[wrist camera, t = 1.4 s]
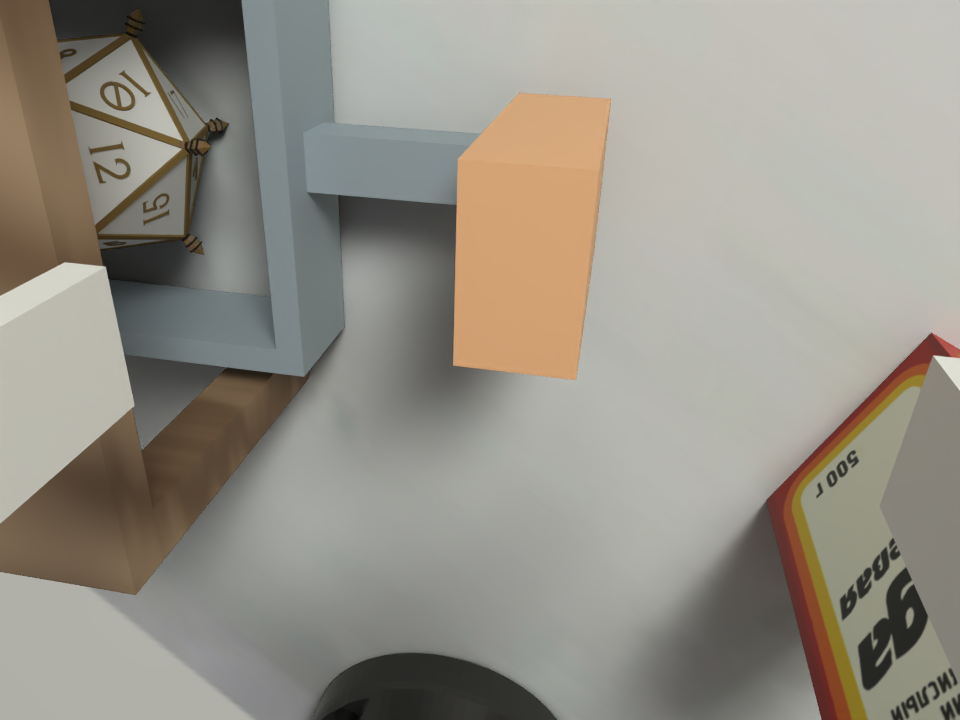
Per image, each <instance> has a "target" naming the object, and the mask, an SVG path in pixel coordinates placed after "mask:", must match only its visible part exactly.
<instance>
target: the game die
mask: <svg viewBox="0 0 960 720" xmlns="http://www.w3.org/2000/svg"><path fill="white" fill-rule="evenodd" d="M127 18H128V20H127V22H126V23H125V25H126V33H121V34H111V35H101V36H91V37H82V38H72V39H62V40H57V43H58V48H59V53H60V58H61V63H62V68H63V72H64V77H65V82H66V87H67V92H68V97H69V102H70V107H71V111H72V116H73V121H74V126H75V131H76V136H77V141H78V146H79V150H80V155H81V160H82V165H83V170H84V175H85V180H86V184H87V189H88V194H89V199H90V204H91V209H92V214H93V219H94V223H95V228H96V233H97V238H98V243H99V248H100V251H103V250H111V249H118V248H125V247H133V246H140V245H147V244H155V243H162V242H169V241H177V240H182V241H184V243H185V244H186V248H187V247H188V248H189V249H190V250H191V251H190V252H195V253H199V254H203V255H204V252H203V248H202V244H201V243H202V242H199V241H198V240H197V237H193V236H191V235H190V234H189V230H190V225H191V220H192V215H193V210H194V204H195V199H196V194H197V189H198V184H199V179H200V174H201V168H202V163H203V158H204V154H206V153H207V152H208V149H209V148H211V146H210V145H209V144H208V143H207V138H208V132H213V134H215V133H216V132H219V133H221V132H223V131H224V130H223V129H224V128H225V127H226V126H227V125H228V124H229V123H226V122H224V121H221V120H220V119H218V118H216V119H215V120H212V119H210V121H209V122H208V123H205V122H204V121H203V120H202V118H201V117H200V116H199V115H198V113H197V112H196V111H195V110H194V108H193V107H192V106H191V105H190V103H189V102H188V101H187V100H186V98H185V97H184V96H183V95H182V94H181V92H180V91H179V90H178V89H177V87H176V86H175V85H174V84H173V82H172V81H171V80H170V79H169V77H168V76H167V75H166V74H165V72H164V71H163V70H162V69H161V67H160V66H159V65H158V64H157V62H156V61H155V60H154V59H153V58H152V56H151V55H150V54H149V53H148V51H147V50H146V49H145V48H144V46H143V45H142V44H141V43H140V41H139V40H138V39H137V35H138V33H139V32H140V31H142V29H141V28H142V25H143V24H144V25H145V23H144V22H143V19H142V15H141V12H140V8H138V9H137V10H135V11H134V12H133V13H132V14H130V15H127Z"/></svg>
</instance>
